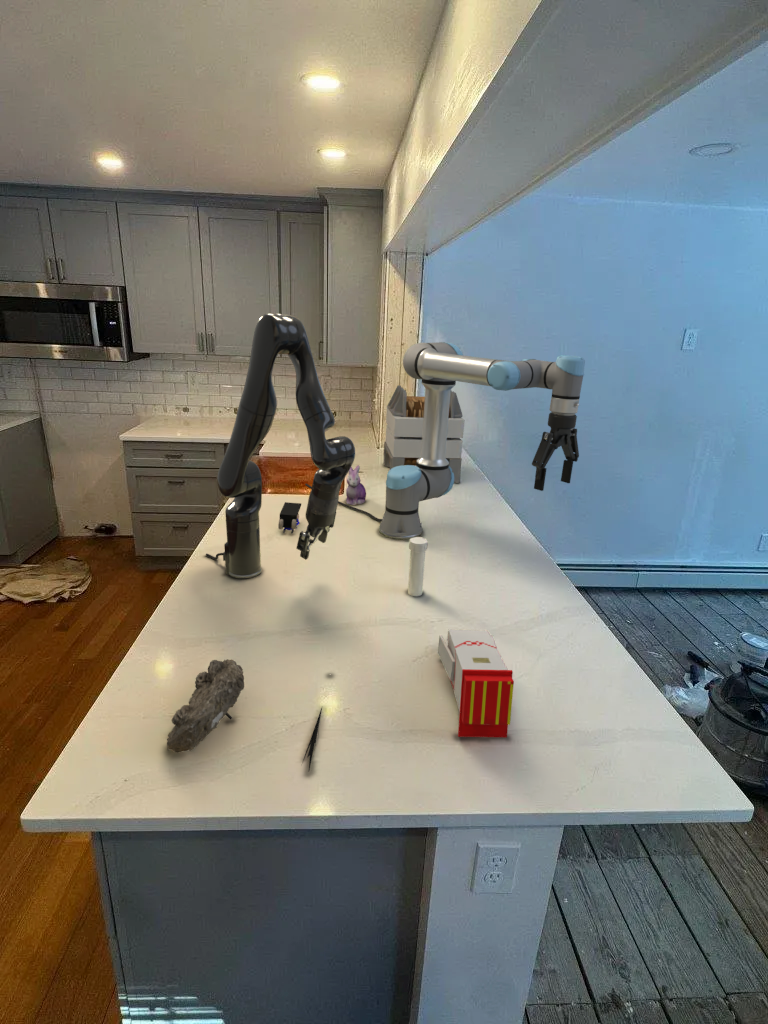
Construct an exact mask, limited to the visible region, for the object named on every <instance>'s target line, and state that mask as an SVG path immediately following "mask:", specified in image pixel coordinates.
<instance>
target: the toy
mask: <svg viewBox="0 0 768 1024" xmlns="http://www.w3.org/2000/svg"><path fill="white" fill-rule="evenodd" d="M446 640H447V643H446V641H445V639H444V636H443V635H442V634H439V637H438V646H437V656H438V657H439V659H440V661H441V663H442V666H443V668H444V670H445V672H446V674H447V677H448V679H449V681H450V684H451V687H452V690H453V693H454V697H455V701H456V705H457V708H458V711H459V714H458V715H459V716H458V730H457V731H458V732H457V737H458V738H508V731H509V726H510V725H511V717H512V707H513V697H514V696H513V695H514V684H515V680H514V679H513V673H514V671H513V670H512V669H508V667H507V665H506V662H505V661H504V659H503V658H502V655H501V653H500V651H499V649H498V647H497V643H496V639H495V637H494V635H493V634H491V632H490V631H489V629H467V628H466V629H465V628H463V629H461V628H460V629H459V628H448V630H447V639H446Z"/></svg>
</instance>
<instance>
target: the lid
mask: <svg viewBox="0 0 768 1024" xmlns="http://www.w3.org/2000/svg"><path fill="white" fill-rule="evenodd" d="M408 541H409V542H408V543H409V544H408V549H409V550H410V551H414V552H424V551H425V552H426V551H428V546H429V543H428V539H427V538H425V537H421V536H420V537H413V538H411V539H410V540H408Z"/></svg>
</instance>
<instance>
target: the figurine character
mask: <svg viewBox="0 0 768 1024" xmlns="http://www.w3.org/2000/svg"><path fill="white" fill-rule="evenodd" d="M301 507H302V503H301V502H287V501H284V504H283V506H282V508H281V510H280V512H279V519H278V524H277V527H278V530H282V534H285V533H286V531H290V534H292V535H293V534H294V532H295V530H296V529H297V528H298V526H299V525H300V523H301V522H300V514H299V512H300V510H301Z"/></svg>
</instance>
